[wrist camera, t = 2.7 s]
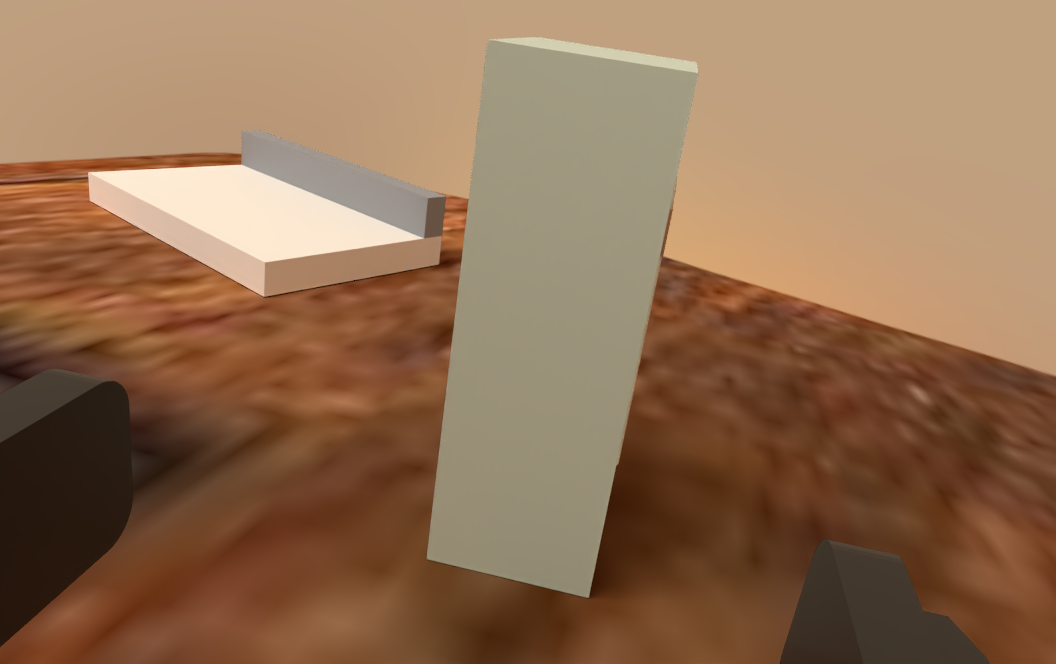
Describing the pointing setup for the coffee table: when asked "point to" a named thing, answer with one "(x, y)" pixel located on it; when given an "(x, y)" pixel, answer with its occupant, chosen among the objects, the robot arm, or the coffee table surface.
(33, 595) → the robot arm
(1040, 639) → the coffee table surface
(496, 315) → the tea box
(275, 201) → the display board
